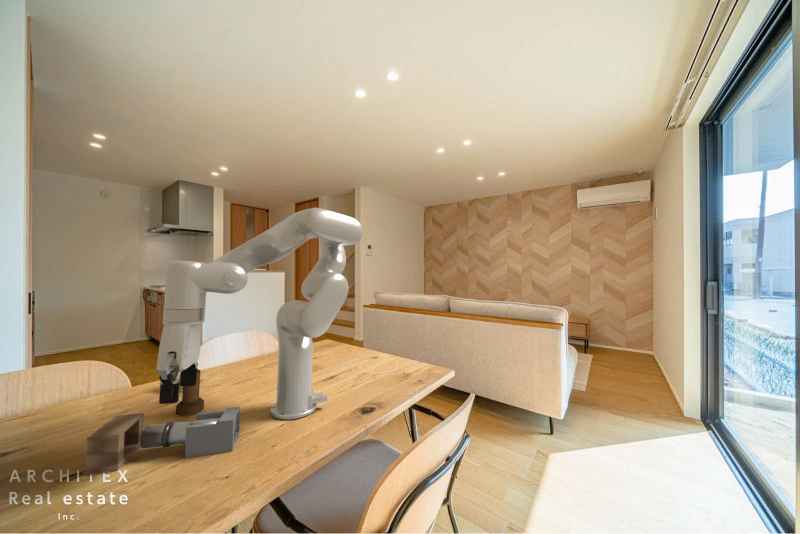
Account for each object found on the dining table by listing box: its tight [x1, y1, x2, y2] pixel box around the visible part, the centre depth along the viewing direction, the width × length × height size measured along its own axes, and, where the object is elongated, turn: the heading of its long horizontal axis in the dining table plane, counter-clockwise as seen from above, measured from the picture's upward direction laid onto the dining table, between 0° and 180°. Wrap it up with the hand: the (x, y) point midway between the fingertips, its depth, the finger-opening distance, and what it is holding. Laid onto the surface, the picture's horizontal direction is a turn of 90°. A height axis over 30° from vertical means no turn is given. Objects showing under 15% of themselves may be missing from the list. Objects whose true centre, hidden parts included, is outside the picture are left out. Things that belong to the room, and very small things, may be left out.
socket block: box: [85, 412, 145, 476], centre depth 61 cm, size 5×9×7 cm, turn 17°
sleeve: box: [184, 406, 241, 458], centre depth 67 cm, size 9×7×7 cm
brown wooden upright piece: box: [175, 369, 205, 417], centre depth 82 cm, size 7×6×18 cm
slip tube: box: [140, 416, 237, 450], centre depth 65 cm, size 17×5×5 cm, turn 107°
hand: (179, 393), depth 64 cm, fingers open, 9 cm apart
